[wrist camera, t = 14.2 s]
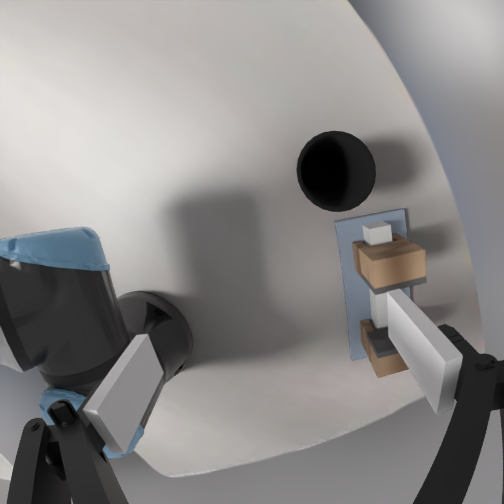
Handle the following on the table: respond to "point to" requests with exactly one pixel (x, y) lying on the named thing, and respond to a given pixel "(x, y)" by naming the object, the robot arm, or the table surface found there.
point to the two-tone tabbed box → (381, 350)
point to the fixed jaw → (390, 264)
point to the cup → (336, 171)
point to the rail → (356, 290)
